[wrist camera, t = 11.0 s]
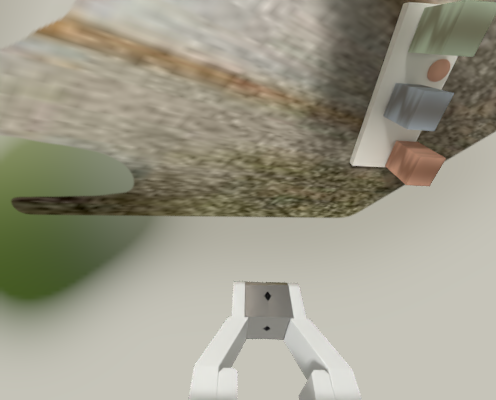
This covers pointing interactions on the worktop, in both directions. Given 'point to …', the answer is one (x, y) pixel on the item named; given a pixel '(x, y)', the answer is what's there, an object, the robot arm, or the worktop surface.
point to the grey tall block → (417, 106)
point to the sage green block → (453, 28)
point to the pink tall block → (414, 163)
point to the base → (394, 71)
